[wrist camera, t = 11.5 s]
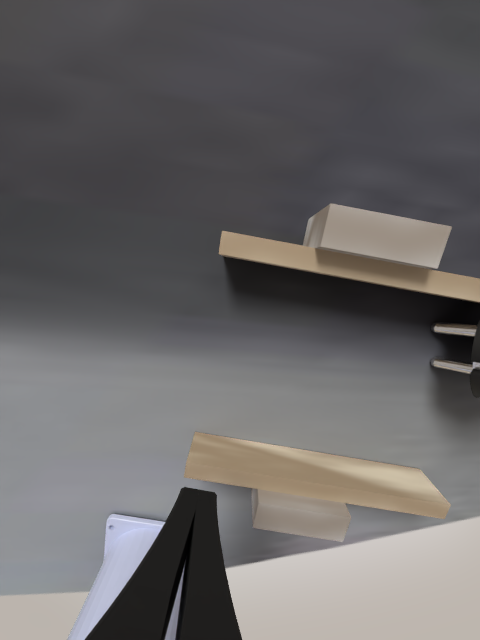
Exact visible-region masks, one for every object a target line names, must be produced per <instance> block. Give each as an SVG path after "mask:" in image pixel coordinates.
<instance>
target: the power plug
mask: <svg viewBox="0 0 480 640" xmlns="http://www.w3.org/2000/svg"><path fill="white" fill-rule="evenodd" d="M431 330H432V331H433V332H435V333H441V334H450V335H459V336H468V337H474V342H473V347H472V354H471V362H473V363H471V362H465V361H459V360H453V359H448V358H442V357H433V358H432V359H431V365H432V366H433V367H436V368H441V369H446V370H451V371H456V372H461V373H466V374H470V383H471V389H472V393H473V395H474V396H475V397H478V398H480V320H479V323H478V325H471V324H458V323H445V322H435V323H433V324H432V325H431Z"/></svg>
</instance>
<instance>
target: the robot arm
mask: <svg viewBox="0 0 480 640" xmlns="http://www.w3.org/2000/svg"><path fill="white" fill-rule="evenodd" d="M198 494H199V495H198ZM67 640H242V637H241V634H240V630H239V626H238V622H237V619H236V615H235V611H234V607H233V603H232V598H231V594H230V590H229V585H228V580H227V576H226V571H225V566H224V560H223V554H222V548H221V542H220V536H219V528H218V518H217V495H216V494H215V492H209V491H204V490H198V489H192V488H186V487H184V488H182V489H181V491H180V493H179V496H178V498H177V500H176V503H175V505H174V507H173V509H172V511H171V513H170V515H169V516H168V518H167V520H166V522H163V521H157V520H150V519H144V518H137V517H131V516H124V515H118V514H112V515H110V516H109V518H108V519H107V524H106V537H105V550H104V562H103V564H102V567H101V569H100V571H99V573H98V575H97V577H96V579H95V581H94V583H93V586H92V588H91V590H90V592H89V594H88V596H87V598H86V601H85V603H84V605H83V607H82V609H81V611H80V613H79V615H78V618H77V620H76V622H75V624H74V626H73V628H72V631H71V632H70V634H69V637H68V639H67Z"/></svg>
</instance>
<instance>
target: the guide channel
mask: <svg viewBox="0 0 480 640" xmlns="http://www.w3.org/2000/svg"><path fill="white" fill-rule="evenodd" d="M451 228H452V227H451V226H445V225H440V224H435V223H430V222H425V221H419V220H414V219H409V218H404V217H399V216H393V215H388V214H383V213H378V212H372V211H367V210H362V209H357V208H352V207H346V206H341V205H336V204H329V205H328V206H326V207H325V208H324V209H322V210H321V211H320V212H318V213H317V214H315V215H314V216H313V217H311V218H310V219H309V220H308V225H307V229H306V234H305V238H304V243H303V246H301V245H296V244H291V243H285V242H280V241H274V240H269V239H264V238H258V237H253V236H248V235H242V234H237V233H232V232H226V231H222V235H221V242H220V248H219V254H220V255H222V256H225V257H231V258H236V259H242V260H247V261H252V262H258V263H263V264H269V265H274V266H280V267H285V268H290V269H296V270H301V271H307V272H312V273H318V274H323V275H328V276H334V277H339V278H345V279H350V280H356V281H361V282H366V283H372V284H377V285H383V286H388V287H394V288H399V289H405V290H410V291H415V292H421V293H426V294H432V295H437V296H443V297H448V298H453V299H459V300H464V301H470V302H475V303H480V279H478V278H473V277H467V276H462V275H457V274H451V273H446V272H440V271H435V270H430V269H424V268H438V266H439V263H440V260H441V257H442V254H443V251H444V248H445V245H446V242H447V240H448V237H449V234H450V231H451ZM184 477H185V478H192V479H198V480H204V481H210V482H217V483H223V484H229V485H235V486H242V487H248V488H251V493H252V520H253V528H257V529H263V530H269V531H276V532H282V533H289V534H295V535H301V536H308V537H314V538H321V539H327V540H334V541H340V542H343V540H344V537H345V534H346V532H347V529H348V526H349V523H350V520H351V516H350V514H349V511H348V509H347V507H346V504H345V503H348V504H354V505H360V506H366V507H373V508H379V509H385V510H391V511H398V512H404V513H410V514H416V515H423V516H429V517H435V518H441V519H445V517H446V514H447V512H448V510H449V508H450V506H451V505H450V504H449V502H448V501H447V500H446V499H445V498H444V497H443V495H442V494H441V493H440V492H439V491H438V490H437V489H436V487H435V486H434V485H433V484H432V483H431V482H430V480H429V479H428V478H427V477H426V476H425V475H424V474H423V472H422V471H421V470H420V469H416V468H410V467H404V466H398V465H392V464H386V463H380V462H374V461H368V460H362V459H356V458H350V457H344V456H338V455H332V454H326V453H319V452H313V451H307V450H301V449H295V448H289V447H283V446H277V445H271V444H265V443H259V442H253V441H247V440H241V439H235V438H229V437H223V436H217V435H210V434H204V433H198V432H195V434H194V437H193V441H192V444H191V448H190V451H189V455H188V458H187V462H186V468H185V474H184Z"/></svg>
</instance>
